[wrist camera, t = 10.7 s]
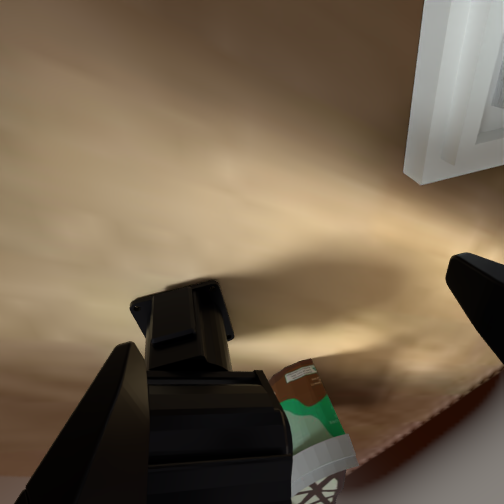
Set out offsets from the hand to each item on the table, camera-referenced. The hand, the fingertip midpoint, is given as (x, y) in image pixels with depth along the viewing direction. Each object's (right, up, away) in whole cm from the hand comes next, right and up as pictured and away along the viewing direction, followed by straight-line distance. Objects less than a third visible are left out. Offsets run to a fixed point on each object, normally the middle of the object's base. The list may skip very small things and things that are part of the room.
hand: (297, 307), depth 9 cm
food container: (+2, -13, +26) cm, 29 cm away
